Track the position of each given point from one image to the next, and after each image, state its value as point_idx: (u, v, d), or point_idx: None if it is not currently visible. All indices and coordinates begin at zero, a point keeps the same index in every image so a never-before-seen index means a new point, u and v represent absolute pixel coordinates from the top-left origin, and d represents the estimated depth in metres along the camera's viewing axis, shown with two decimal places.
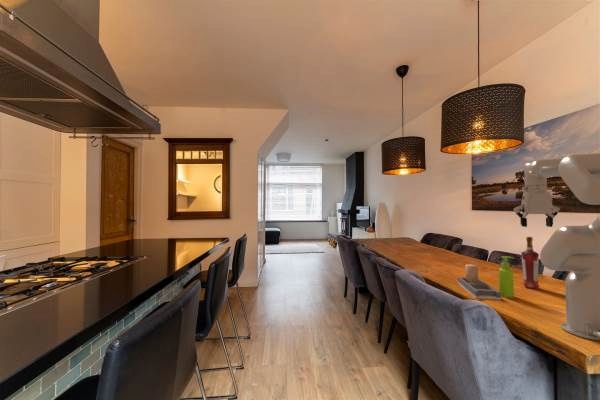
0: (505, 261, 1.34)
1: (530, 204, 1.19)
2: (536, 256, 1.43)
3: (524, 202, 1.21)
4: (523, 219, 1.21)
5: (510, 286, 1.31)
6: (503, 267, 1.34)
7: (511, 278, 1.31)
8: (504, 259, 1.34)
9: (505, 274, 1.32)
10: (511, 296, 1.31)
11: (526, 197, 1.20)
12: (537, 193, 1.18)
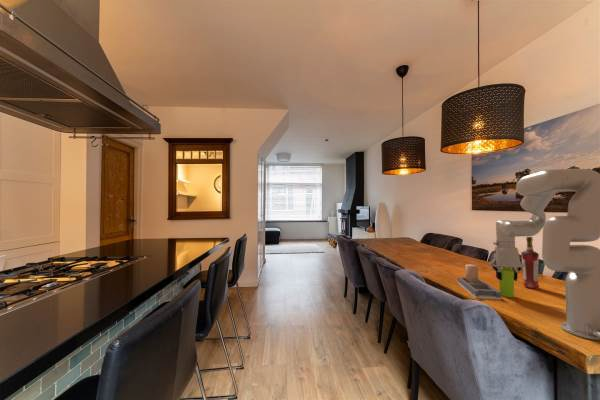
0: None
1: (501, 258, 1.33)
2: (536, 256, 1.43)
3: (495, 256, 1.35)
4: (498, 273, 1.34)
5: (510, 285, 1.31)
6: (504, 267, 1.34)
7: (512, 278, 1.31)
8: None
9: (506, 273, 1.32)
10: (511, 296, 1.31)
11: (497, 252, 1.34)
12: (506, 249, 1.32)
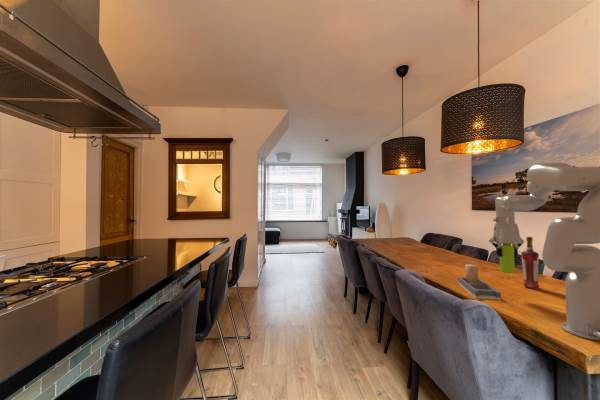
0: None
1: (500, 234, 1.32)
2: (536, 256, 1.43)
3: (495, 232, 1.34)
4: (498, 249, 1.34)
5: (511, 261, 1.31)
6: (504, 243, 1.33)
7: (512, 254, 1.31)
8: None
9: (506, 249, 1.32)
10: (512, 272, 1.30)
11: (497, 228, 1.34)
12: (506, 224, 1.32)
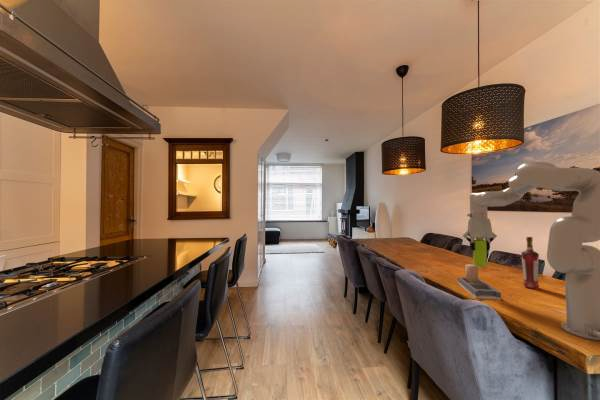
0: None
1: (474, 229, 1.36)
2: (536, 256, 1.43)
3: (469, 227, 1.38)
4: (471, 244, 1.38)
5: (483, 255, 1.35)
6: None
7: (484, 248, 1.35)
8: None
9: (479, 244, 1.36)
10: (484, 265, 1.35)
11: (470, 223, 1.38)
12: (479, 220, 1.36)
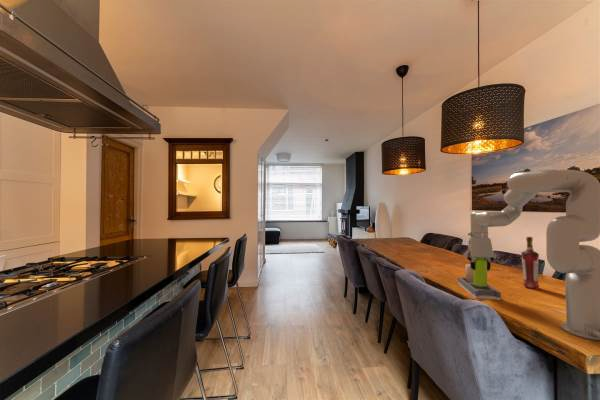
0: None
1: (474, 248, 1.36)
2: (536, 256, 1.43)
3: (469, 246, 1.38)
4: (472, 263, 1.38)
5: (483, 275, 1.35)
6: (478, 257, 1.38)
7: (485, 267, 1.35)
8: None
9: (479, 263, 1.36)
10: (484, 285, 1.35)
11: (471, 242, 1.37)
12: (480, 239, 1.36)
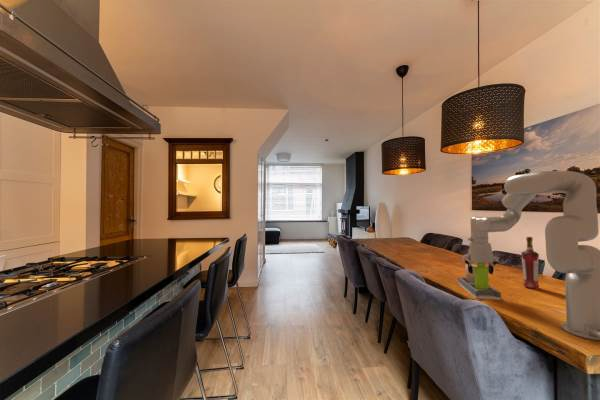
0: None
1: (474, 254, 1.36)
2: (536, 256, 1.43)
3: (470, 251, 1.38)
4: (469, 267, 1.38)
5: (485, 282, 1.34)
6: (478, 264, 1.37)
7: (486, 275, 1.35)
8: None
9: (480, 271, 1.35)
10: None
11: (471, 247, 1.37)
12: (480, 244, 1.36)
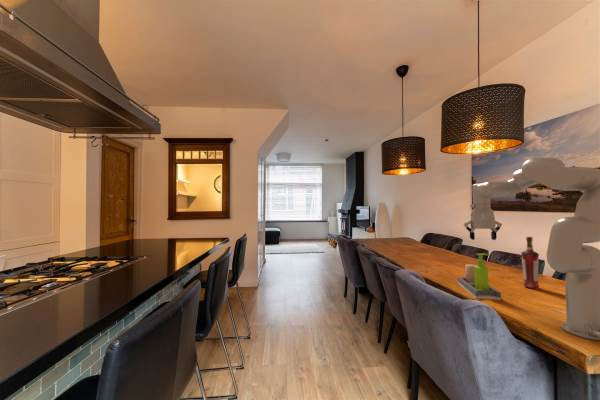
0: (480, 258, 1.37)
1: (477, 220, 1.36)
2: (536, 256, 1.43)
3: (472, 218, 1.38)
4: (471, 233, 1.38)
5: (485, 282, 1.34)
6: (478, 264, 1.37)
7: (486, 275, 1.35)
8: (479, 256, 1.37)
9: (480, 271, 1.35)
10: None
11: (473, 214, 1.37)
12: (482, 210, 1.35)
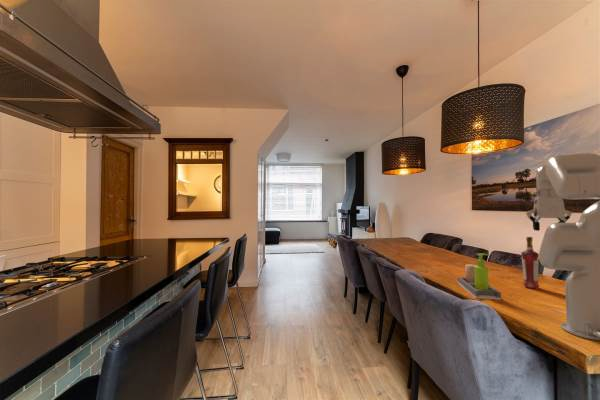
0: (480, 258, 1.37)
1: (543, 208, 1.20)
2: (536, 256, 1.43)
3: (536, 206, 1.22)
4: (536, 223, 1.22)
5: (485, 282, 1.34)
6: (478, 264, 1.37)
7: (486, 275, 1.35)
8: (479, 256, 1.37)
9: (480, 271, 1.35)
10: None
11: (538, 201, 1.21)
12: (549, 197, 1.20)
